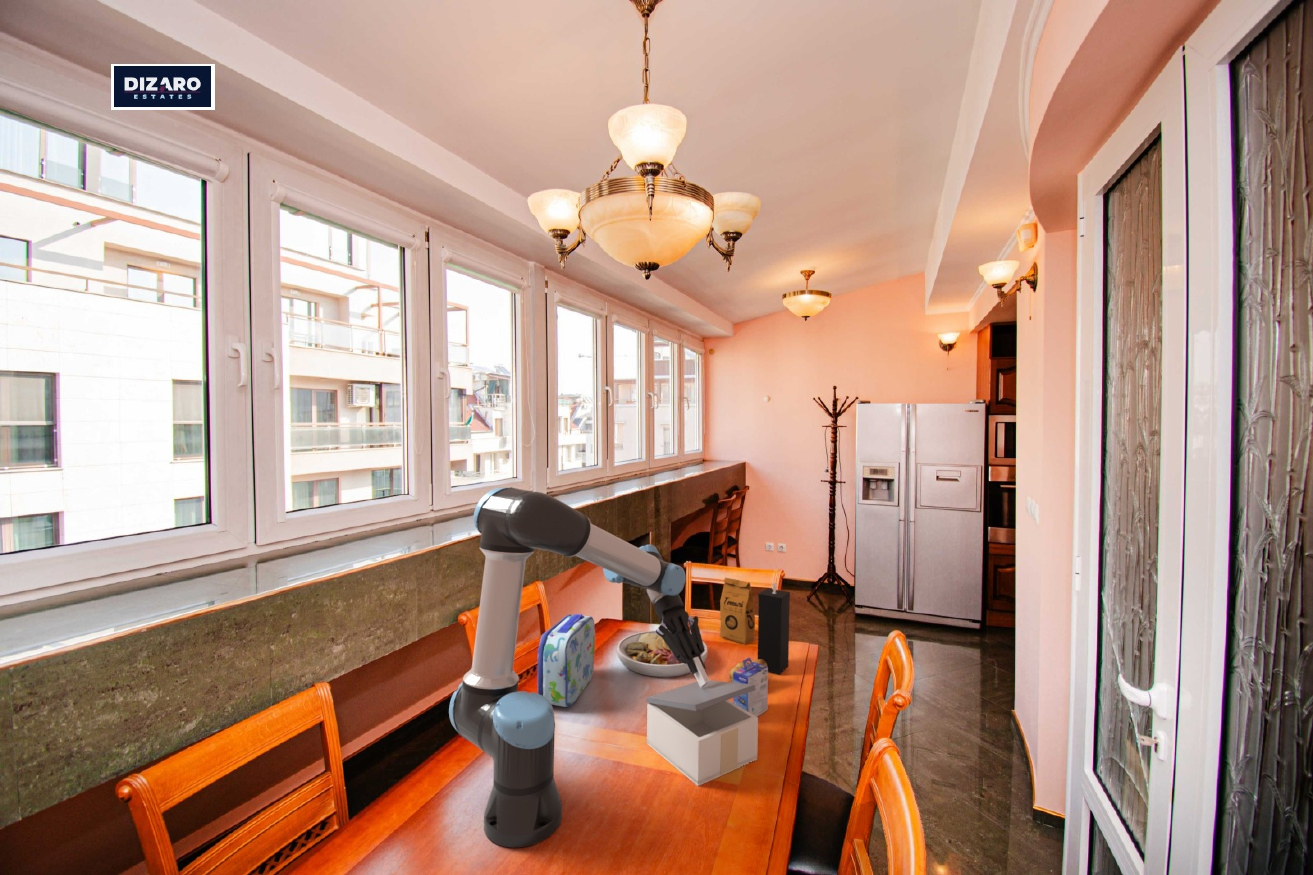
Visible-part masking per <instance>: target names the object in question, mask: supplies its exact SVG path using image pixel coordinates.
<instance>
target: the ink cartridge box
mask: <svg viewBox="0 0 1313 875" xmlns="http://www.w3.org/2000/svg"><path fill="white" fill-rule="evenodd" d="M752 661H753V660H752V659H751V657H748V658H745V659H743V660H742V662H743V665H744V667H742V668H740V669H739V670H737V671H735V672H733V683H742V684H752V685H755V690H754V691H751V692H749V693H746V694H743V695H740V696H737V697H734V698H732V700H733V701H732V702H733V703H734V704H736V705H738V706H739V707H741V708H743V709H744V710H746V711H748V712H749V713H751V714H753V715H754V716H756V717H759V716H760V715H762V714H764V713H765V712H767V711H768V710H769V707H768V706H769V702H768V701H769V699H768V698H769V695H768V694H769V692H768V691H769V689H768V687H769V685H768V682H769V681H768V678H769V676H768V674H769V672H768V667H767V666H764V665H761V664H758V663H756V662H752ZM746 662H749V664H748V665H746Z"/></svg>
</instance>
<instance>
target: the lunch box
mask: <svg viewBox="0 0 1313 875" xmlns="http://www.w3.org/2000/svg"><path fill="white" fill-rule="evenodd" d="M594 620H595V619H594V618H593V616H590V615H589V616H588V615H583V614H582V613H580V614H579V613H578V614H577V613H574V614H567V615H565V616H564V617H562V618H561V620H559V621H558V622H557V623H556V624H554V625H553V626H552V627H551V628H549V629H548V630H546V631H545V632H544V633H543V634H542V635H541V637H540V641H539V645H538V649H537V694H540V695H542V696H544V697H545V698H546V699H548V701H549V702H550V703H551V705H552V706H558V707H564V708H568V707H569V708H570V707H571V706H573V705H574V704H575V702H576V701H577V699H578V697H579V696H580V695H581V694H582V692H583V691H584V689H585V688H586V687H587V686H588V684H589V683H590V681H591V680H592V677H593V673H594V664H595V663H594V662H595V651H596V650H595V649H596V628H595V627H596V626H595V625H596V624H595V621H594Z"/></svg>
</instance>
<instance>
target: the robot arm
mask: <svg viewBox="0 0 1313 875" xmlns="http://www.w3.org/2000/svg"><path fill="white" fill-rule="evenodd" d="M473 523H474V527H475V528H476V530H477V532H478V533H479V534H480V540H479V550H480V551H481V552H482V553H483V555H484V556H485V561H484V567H483V568H484V570H483V575H482V582H481V583H482V584H481V591H480V600H479V607H478V616H477V617H478V618H477V624H476V632H475V640H474V647H473V656H472V664H471V668H470V669H469V671H467V672H466V673H465V674H464V675H463V678H462V681H461V683H460V684H459V685H458V686H457V687H458V688H457V690H455V691H454V692H453V694H452V696H451V698H450V702H449V708H448V714H449V720H450V723H451V725H452V726H453V728H454V729H455V731H456V732H457V733H458V734H459V736H461V737H462V738H463V739H465V740H466V741H468V742H470V743H471V744H472V745H474V746H475V747H477V748H479V750H480V751H482V752H483V753H485V754H486V755H488V756H489V757H491V758H492V761H493V783H492V784H493V786H492V788H491V792H490V793H489V794H490V795H489V798H488V801H487V804H486V806H485V809H484V812H483V813H484V814H483V831H484V835H485V836H486V837H487V838H488V839H489V841H491V842H492V843H494V844H496V845H498V846H501V847H507V848H524V847H525V848H526V847H529V846H533V845H537V844H538V843H541V842H543V841H546V839H548V838H550V837H551V836H552V835H553V834H554V833H555V832H556V831H557V830H558V829H559V827H560V825H561V823H562V820H563V802H562V797H561V796H560V792H559V788H558V787H557V783H556V780H555V777H554V774H555V770H554V769H555V768H554V766H555V764H554V763H555V735H556V734H555V732H556V722H555V712H554V707H553V704H551V703H550V702H549V701H548V699H546V698H545V697H544V696H542V695H540V694H538V692H533V691H531V692H528V691H527V690H526V691H525V690H524V691H523V690H522V691H519V690H518V688H519V680H520V679H519V675H518V674H517V673H516V672H515V670H514V662H515V653H516V647H517V646H516V644H517V636H518V629H519V620H520V611H521V604H522V597H523V596H522V594H523V587H524V578H525V570H526V562H527V559H529V558H530V556H532V555H533V554H534V553H535V550H541V551H547V552H552V553H555V554H559V555H561V556H563V557H566V558H572V557H578V558H580V559H583V560H584V561H587V562H589V563H591V564H593V565H596V566H598V567H600V568H602V570H603V574H604V577H605V579H606V580H607V581H609V582H610V583H614V584H621V583H623V584H627V585H631V586H634V587H638V588H641V589H645V591H646V594H647V595H648V597H649V599H650V601H651V603H652V605H653V609H654V611H655V613H656V616H657V618H658V619H659V620H660V621H659V622H660V624H659V626H658V627H657V628H656V629H655V631H656V633H657V634H658V635H659V636H661V637H662V638H663V640H664V641H665V643H666V644H667V646H668V647H669V648H670V650H671V651H672V653H673V654H674V656H675V657H676V659H677V660H678V661H679V662H681V661H684V662H683V663H684V664H686V663H687V665H688V667H689V669H690V671H691V672H690V673H691V674H692V675H694V677H695V679H696V682H697V681H698V684H699V686H700V688H701V687H703V686H705V685H706V684H708V683H709V682H710V681H709V680H710V679H709V677H708V675H707V673H706V670H705V669H706V666H705V664H704V663H705V662H704V663H703V661H702V659H701V654H702V653H703V652H704V651H705V649H704V645H703V642H704V641H703V639H702V638H703V637H702V635H701V631H700V628H699V617H698V616H697V615H695V616H692V615H689V613H688V612H687V611H686V610H685V608H684V607H685V605H684V602H683V601H682V597H681V596H680V593H681V592H682V591H683V589H684V587H685V583H686V579H687V577H686V572H685V570H684V568H683V567H682V566H680V565H677V564H675V563H672V562H667V561H664V560H663V557H662V555H661V554H660V552H659V550H658V549H657V547H656V546H655V545H653V544H645V545H642V546H640V547H637V546H635V545H633V544H631V543H629V542H628V541H626V540H624V539H622V538H620V537H618V536H616V535H614V534H612V533H610V532H608V531H606V530H604V529H602V528H601V527H598V526H597V525H594V524H593V523H592V522H591V519H590V518H589V517H588V516H587V515H586V514H584V513H582V512H580V511H578V510H577V509H575V508H573V507H572V506H570V505H568V504H567V503H565V502H563V501H561V500H559V499H557V498H556V497H554V496H552V495H549V494H546V493H544V492H540V491H532V490H526V489H519V488H515V487H497V488H493V489H491V490H489V491H488V492H487V493H485V494H484V495H483V496H482V497H481V498H480V499H479V500H478V501H477V504H476V506H475V509H474V512H473ZM669 631H670V632H669ZM702 641H703V642H702Z"/></svg>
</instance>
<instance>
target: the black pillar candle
mask: <svg viewBox="0 0 1313 875" xmlns="http://www.w3.org/2000/svg"><path fill="white" fill-rule="evenodd" d="M777 585H778V583H777V582H774V583H772V588H766V589H764V590H762V591H761V592H759V593H757V594H758V595H757V596H758V598H757V599H758V611H757V613H758V614H757V616H758V617H757V618H758V619H757V659H763V660H764V661H765V662H766V664H767V667H768V674H769V673H770V674H774V675H776V674H777V675H778V676H781V675H782V674H783V673H784V672H785V671H786V670H787V669H788V668H789V657H790V656H789V648H790V644H789V643H790V642H789V641H790V640H789V639H790V603H791V602H790V598H791V592H790V591H784V590H780V589H777V587H778V586H777Z"/></svg>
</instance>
